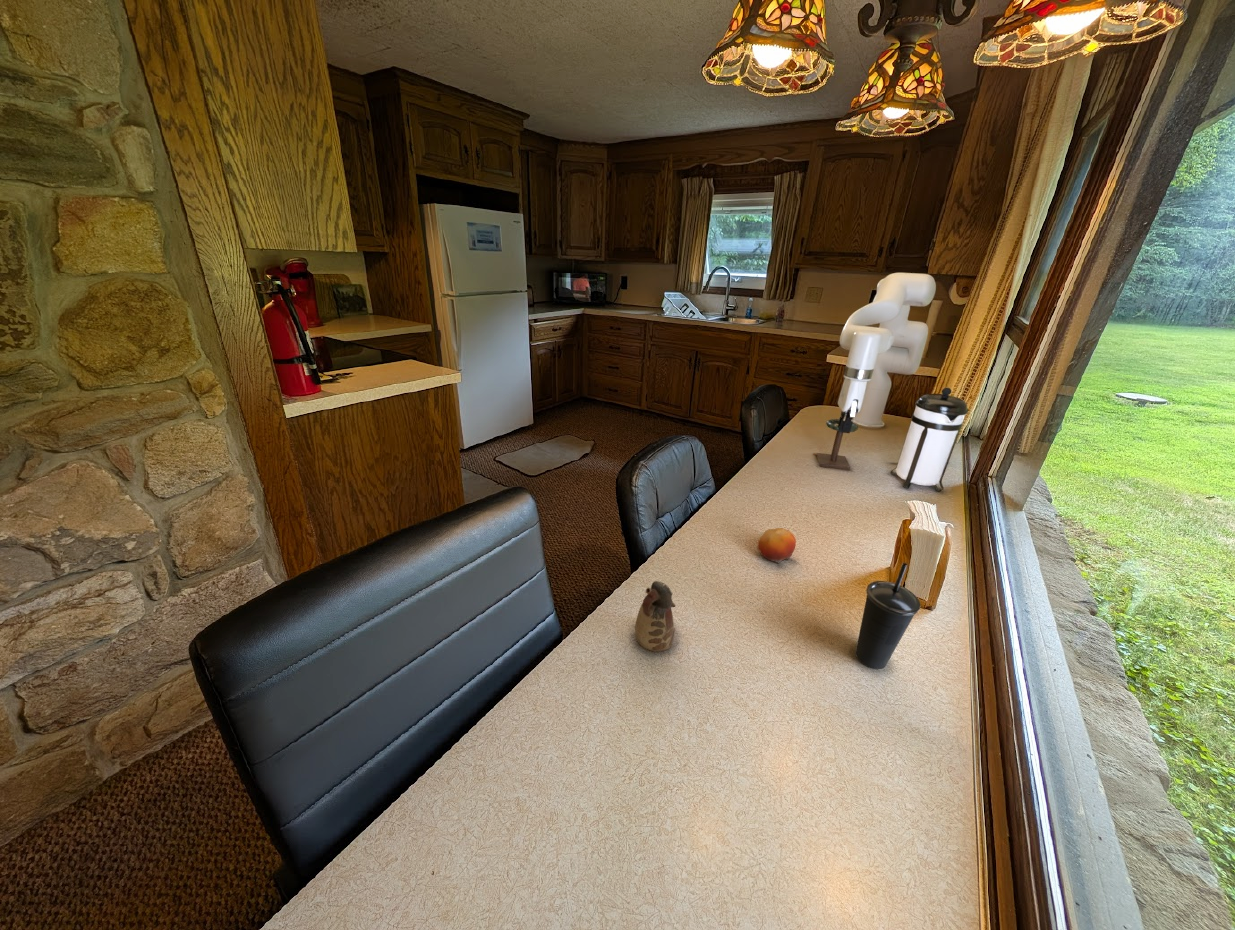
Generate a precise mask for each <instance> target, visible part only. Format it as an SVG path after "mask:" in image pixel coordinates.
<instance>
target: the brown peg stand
mask: <svg viewBox="0 0 1235 930" xmlns="http://www.w3.org/2000/svg"><path fill="white" fill-rule="evenodd" d="M843 436H844V433H841V432H839V431H836V434H835V438H834V441H833V444H832V445H833V446H832V450H831V452H830V453H823V452H816V458H817V462H818V465H819V467H822V468H828V469H838V470H844V471H850V470H851V466H850V464H849V461H848V459H847V456H845V455H839V452H840V448H841V444H842V440H843Z"/></svg>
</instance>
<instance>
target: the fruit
mask: <svg viewBox="0 0 1235 930" xmlns="http://www.w3.org/2000/svg"><path fill="white" fill-rule="evenodd" d="M796 545H797V541H796V537H795V535H794V534H793V533H792V532H791V531H790V530H788V529H786V528H784V527H776V528H768V529H766V530H765V531H764V532H763V534H762V535H760V537H759V539H758V542H757V548H758V551H759V553H760V555H762V556H763V557H764V558H766V559H767V560H768V561H772V562H775V563H777V564H781V562H783V561H784V560H786V559H788V560H790V561H793V559H792V558H791V557H792V556H793V554H794V552H795V550H796Z"/></svg>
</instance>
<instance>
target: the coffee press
mask: <svg viewBox="0 0 1235 930" xmlns="http://www.w3.org/2000/svg"><path fill="white" fill-rule="evenodd" d="M951 394H952V389H951V388H950V387H944V388H943V389H942V390H941V393H927V394H923V395H922V396H920V397H919V399H916V401H915V409H914V412H913V413H912V415H911V418H910V419H911V420H910V422H909V426H908V429H907V432H906V435H905V438H904V442H903V445H902V449H901V451H900V454H899V457H898V461H897V464H896V467H895V468H894V469H892V470H890V471H889V472H890V474H891V475H892V476H895V475H897V476H898V477H899V478H900V479H902V480H903V481H904V482H903V485H902V488H904V489H907V490H908V489H909V488H910V487H911V485H912V484H914V485H919V486H924V487H925V486H926V487H927V486H928V487H930V486H932V487H934V489H935V490H936V491H937V492H939V493H940V492H942V491H943V490H944V488H945V487H944V484H943V478H944V475H945V473H946V471H947V467H948V465H949V462H950V459H951V456H952V454H953V452H954V448H955V446H956V443H957V441H958V439H959V438H958V437H959V435H960V432H961V429H962V427H963V425H964V419H965V416H966V415H968V413H969V411H970V410H969V408H968V403H966V401H965V400H964V399H962V398H960V397H958V396H954V395H951ZM894 470H895V472H894ZM938 484H939V487H940V489H939V487H938V486H937V485H938Z"/></svg>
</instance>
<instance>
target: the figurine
mask: <svg viewBox="0 0 1235 930" xmlns="http://www.w3.org/2000/svg"><path fill="white" fill-rule="evenodd" d="M645 593H646V595H645V597H644V598H643V600H642V603H641V605H640V607H639V610H638V613H637V616H636V620H635V625H634V630H635V631H634V636H635V639H636V641H637V643H638V644H639V645H640V646H641V647H642V648H644V649H645V650H648V651H650V652H654V653H656V652H664V651H667V650H668V649H670V648H671V647H672V645H673V642H674V637H675V632H676V629H675V623H674V613H673V611H672V608H676V607H677V606H676V605H677V604H675V603H674V602H673V599H672V597H673V592H672V589H671V588H670V587H669V585H668V584H666V583H665V582H663V581H659V580H655V581H653V582H652V584H651V585H650V587H647V588H646V589H645Z"/></svg>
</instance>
